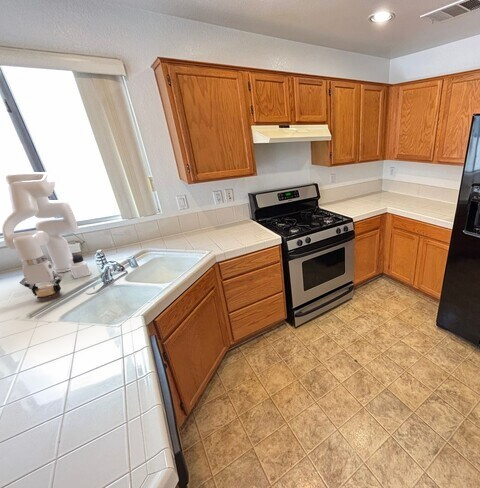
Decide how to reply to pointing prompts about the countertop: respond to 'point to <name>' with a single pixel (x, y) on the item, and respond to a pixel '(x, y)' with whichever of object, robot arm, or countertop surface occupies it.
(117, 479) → the countertop surface
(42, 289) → the maple chip
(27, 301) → the countertop surface
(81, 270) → the medicine bottle
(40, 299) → the walnut chip
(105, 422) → the countertop surface
